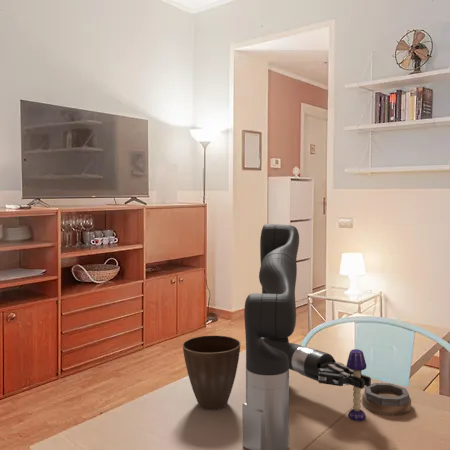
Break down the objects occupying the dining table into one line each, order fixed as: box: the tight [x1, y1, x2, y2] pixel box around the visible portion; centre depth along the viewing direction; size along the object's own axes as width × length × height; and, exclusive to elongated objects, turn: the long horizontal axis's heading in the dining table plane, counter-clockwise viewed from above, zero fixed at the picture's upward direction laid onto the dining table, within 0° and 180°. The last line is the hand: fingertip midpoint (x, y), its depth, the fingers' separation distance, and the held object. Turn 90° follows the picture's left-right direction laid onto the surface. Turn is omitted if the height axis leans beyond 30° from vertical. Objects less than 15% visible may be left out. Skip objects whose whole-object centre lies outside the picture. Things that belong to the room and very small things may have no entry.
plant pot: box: [182, 335, 241, 411], centre depth 132 cm, size 15×15×16 cm
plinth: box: [361, 382, 412, 416], centre depth 131 cm, size 12×12×4 cm
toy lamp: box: [346, 348, 367, 422], centre depth 123 cm, size 5×5×17 cm
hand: (366, 383), depth 121 cm, fingers closed on toy lamp
